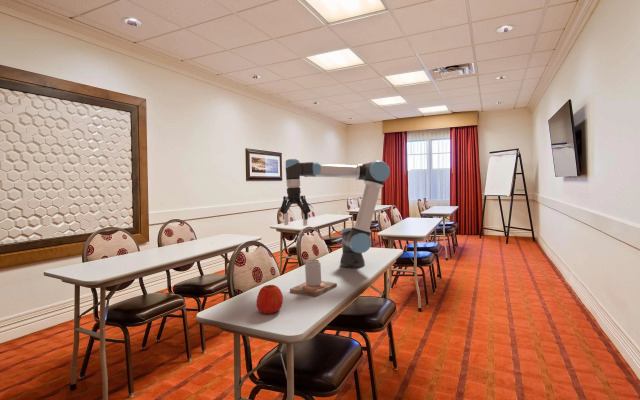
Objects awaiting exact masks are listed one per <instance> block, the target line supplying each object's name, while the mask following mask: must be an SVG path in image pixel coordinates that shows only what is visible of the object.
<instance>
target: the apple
mask: <svg viewBox="0 0 640 400" xmlns="http://www.w3.org/2000/svg"><path fill="white" fill-rule="evenodd" d="M283 303H284V297H283V293H282V291H281V288H279V287H278V286H277V285H274V284H267V285H264V286H262V287H261V288H260V289H259V291H258V293H257V297H256V307H257V310H258V311H259V312H260V314H264V315H270V314H273V313H277V312H278V311H279V310H280V309H281V307H282V306H283Z"/></svg>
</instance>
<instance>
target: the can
mask: <svg viewBox="0 0 640 400" xmlns="http://www.w3.org/2000/svg"><path fill="white" fill-rule="evenodd" d="M305 262H306V263H305V264H304V268H305V282H306V284H307V285H308V286H310V287H316V286H319V285H320V284H321V281H322V271H321V269H322V267H321V262H320V260H319V259H307V260H306V261H305Z"/></svg>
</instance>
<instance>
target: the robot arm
mask: <svg viewBox="0 0 640 400" xmlns="http://www.w3.org/2000/svg"><path fill="white" fill-rule="evenodd" d="M390 173H391V169H390V166H389V164H388V163H386V162H385V161H383V160H374V161H371V162H367V163H357V164H356V165H350V164H348V165H347V164H321V163H320V162H319V161H310V162H300V160H299V158H288V159H287V160H285V179H286V193H287V195H285V196H283V197H282V198H283V200H282V202H281V207H280V209H279V213H281V214H282V219H283V224H284V226H288V225H289V213H288V211H289V210H290V207H291V206H292V205H297V206H298V207H299V209H300V210H301V211H302V212H303V213H302V226H304V227H306V226H308V220H309V213H311V212H312V210H311V208H310V206H309V205H308V201H307V200H306V195H301V193H302V192H301V178H300V177H304V178H310V177H312V178H317V177H318V178H347V179H355V180H356V181H357V180H360V181H363V183H364V184H365V187H364V190H363V193H362V196H361V197H362V198H361V202H360V205H359V209H358V213H357V216H356V220H355V224H354V225H352V226H351V227H350V228H342V229H341V243H342V244H341V247H342V248H341V249H342V254H341V258H340V262H339V266H340V265H341V268H347V269H348V268H349V269H353V268H361V267H364V266H366V261H365V259H364V256H363V253H364V254H365V253H366V252H368V251H369V250H370V248H371V245H372V239H371V236H372V235H371V234H372V230H371V229H370V228H371V224H372V221H373V218H374V213H375V210H376V205H377V201H378V199H379V194H380V190H381V189H382V188H384V185H385V182H386V180H387V179H388V178H389V177H390Z"/></svg>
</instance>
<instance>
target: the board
mask: <svg viewBox="0 0 640 400" xmlns="http://www.w3.org/2000/svg"><path fill="white" fill-rule="evenodd" d="M337 286H338V282H331V281H325V280H321V284H320V285H319V286H316V287H310V286H308V285H307V284H306V281H305V282H302V283H301V284H299V285H296V286H292V287H290V288H289V292H290V293H293V294H299V295H304V296H310V297H318V296H320V295H321V294H324V293H326V292H328V291H330V290H331V289H335V288H336V287H337Z"/></svg>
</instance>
